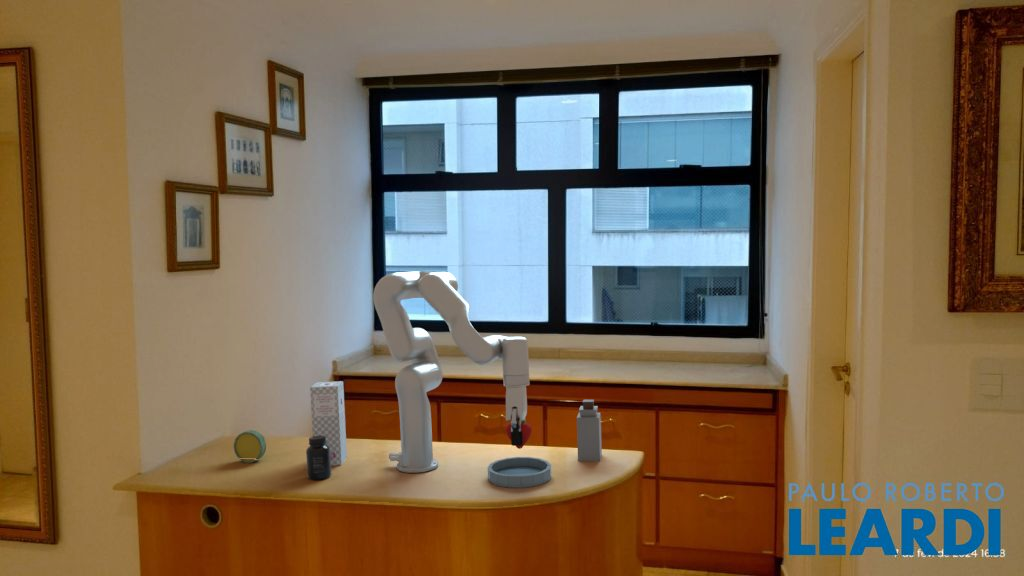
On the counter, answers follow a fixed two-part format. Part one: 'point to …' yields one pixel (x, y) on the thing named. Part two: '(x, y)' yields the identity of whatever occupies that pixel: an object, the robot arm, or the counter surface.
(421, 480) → the counter surface
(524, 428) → the strawberry
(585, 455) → the perfume bottle
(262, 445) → the decorative artifact
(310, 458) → the supplement bottle
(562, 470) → the counter surface
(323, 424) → the box
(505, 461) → the slate dish
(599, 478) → the counter surface
